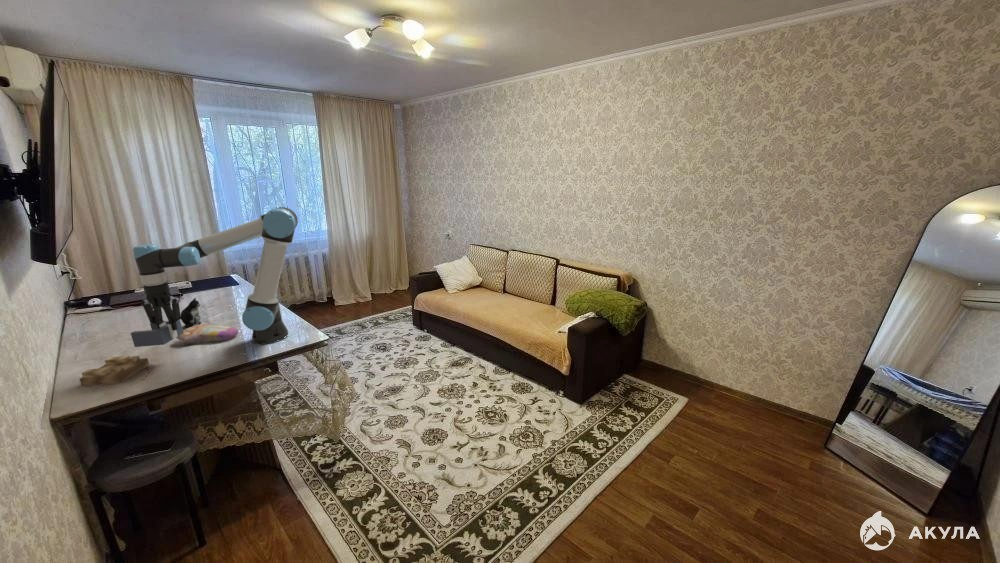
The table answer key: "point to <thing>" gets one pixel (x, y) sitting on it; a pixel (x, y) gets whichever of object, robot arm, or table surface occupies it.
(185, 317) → the figurine
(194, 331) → the sculpture
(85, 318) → the table surface
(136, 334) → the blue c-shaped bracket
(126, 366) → the stand
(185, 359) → the table surface
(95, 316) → the table surface
